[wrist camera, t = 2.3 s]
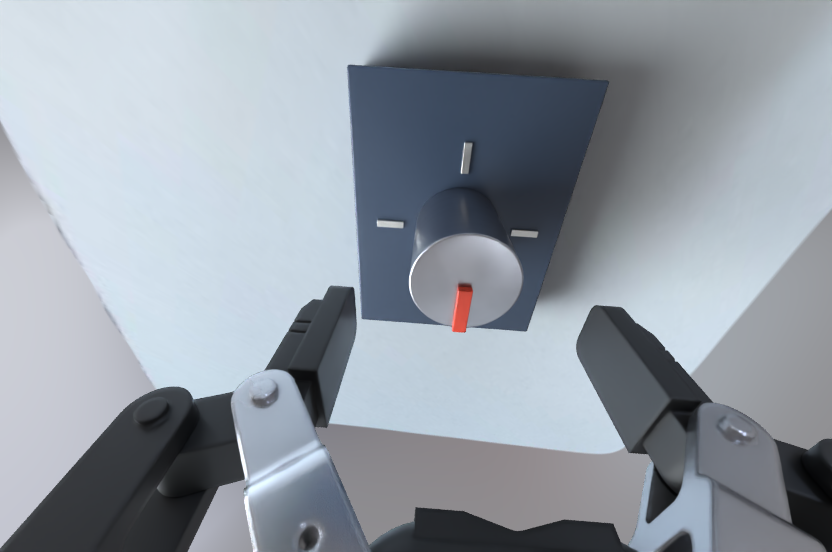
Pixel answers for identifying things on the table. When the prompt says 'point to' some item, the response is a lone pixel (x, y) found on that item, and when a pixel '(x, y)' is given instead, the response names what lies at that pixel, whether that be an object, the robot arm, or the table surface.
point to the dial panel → (462, 168)
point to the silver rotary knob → (463, 261)
